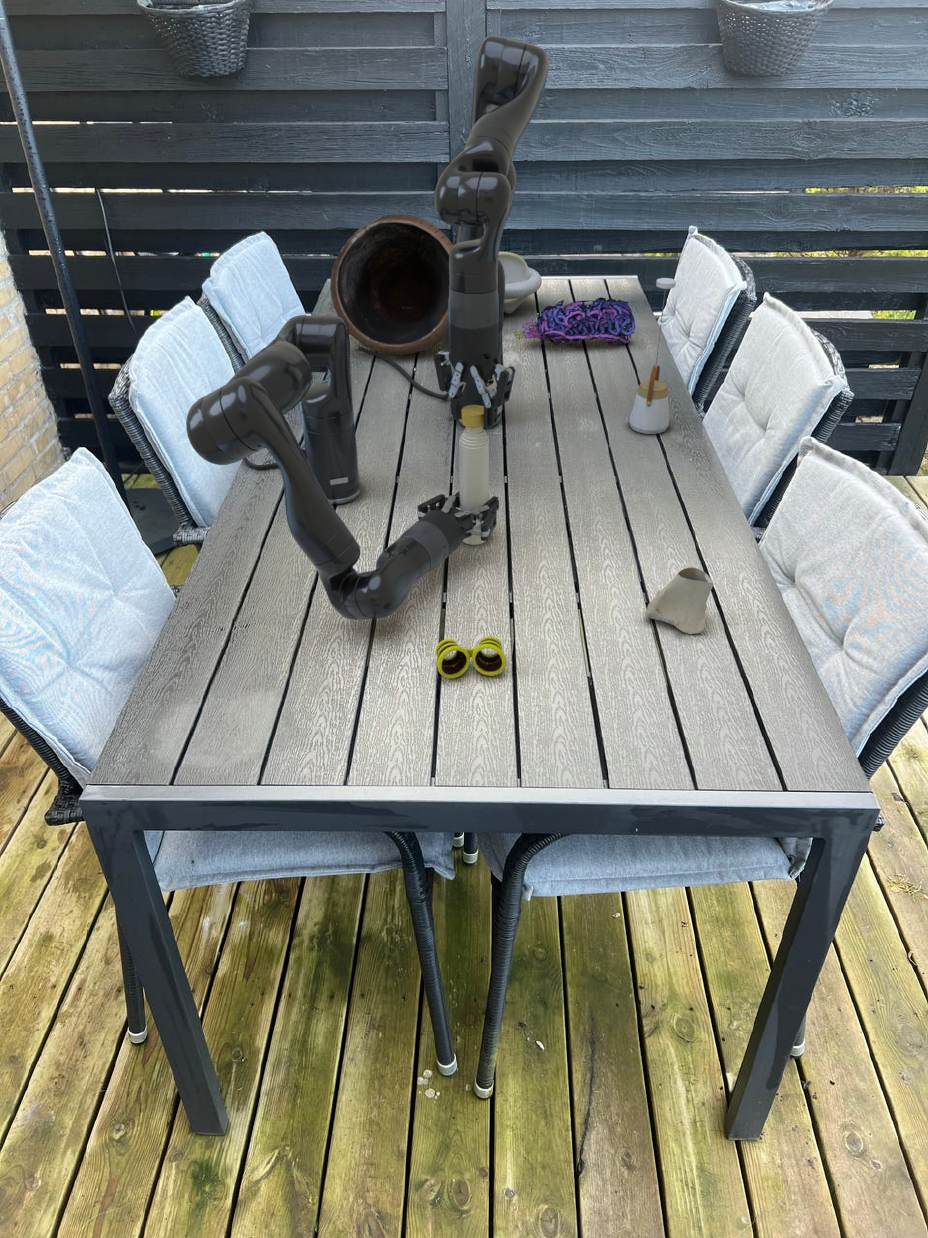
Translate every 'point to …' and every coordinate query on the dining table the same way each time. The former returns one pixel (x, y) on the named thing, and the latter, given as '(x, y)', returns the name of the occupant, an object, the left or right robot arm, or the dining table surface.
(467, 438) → the bottle
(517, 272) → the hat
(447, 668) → the opera glasses
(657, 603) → the grey flared hollow piece
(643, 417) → the pendant light
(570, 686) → the dining table surface
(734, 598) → the dining table surface
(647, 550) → the dining table surface
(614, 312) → the decorative ornament
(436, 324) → the pot
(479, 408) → the cap
